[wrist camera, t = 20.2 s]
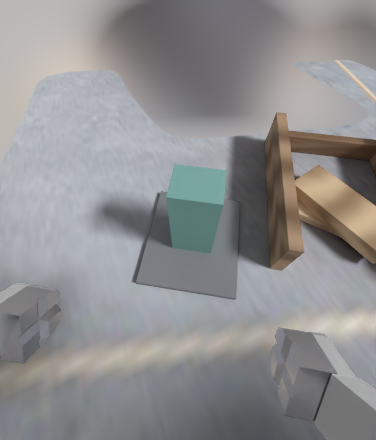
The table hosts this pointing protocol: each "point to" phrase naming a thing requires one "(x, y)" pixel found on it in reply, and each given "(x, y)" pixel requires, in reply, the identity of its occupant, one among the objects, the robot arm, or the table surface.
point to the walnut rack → (285, 182)
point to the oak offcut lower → (312, 219)
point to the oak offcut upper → (340, 209)
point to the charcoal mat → (192, 256)
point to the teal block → (195, 206)
